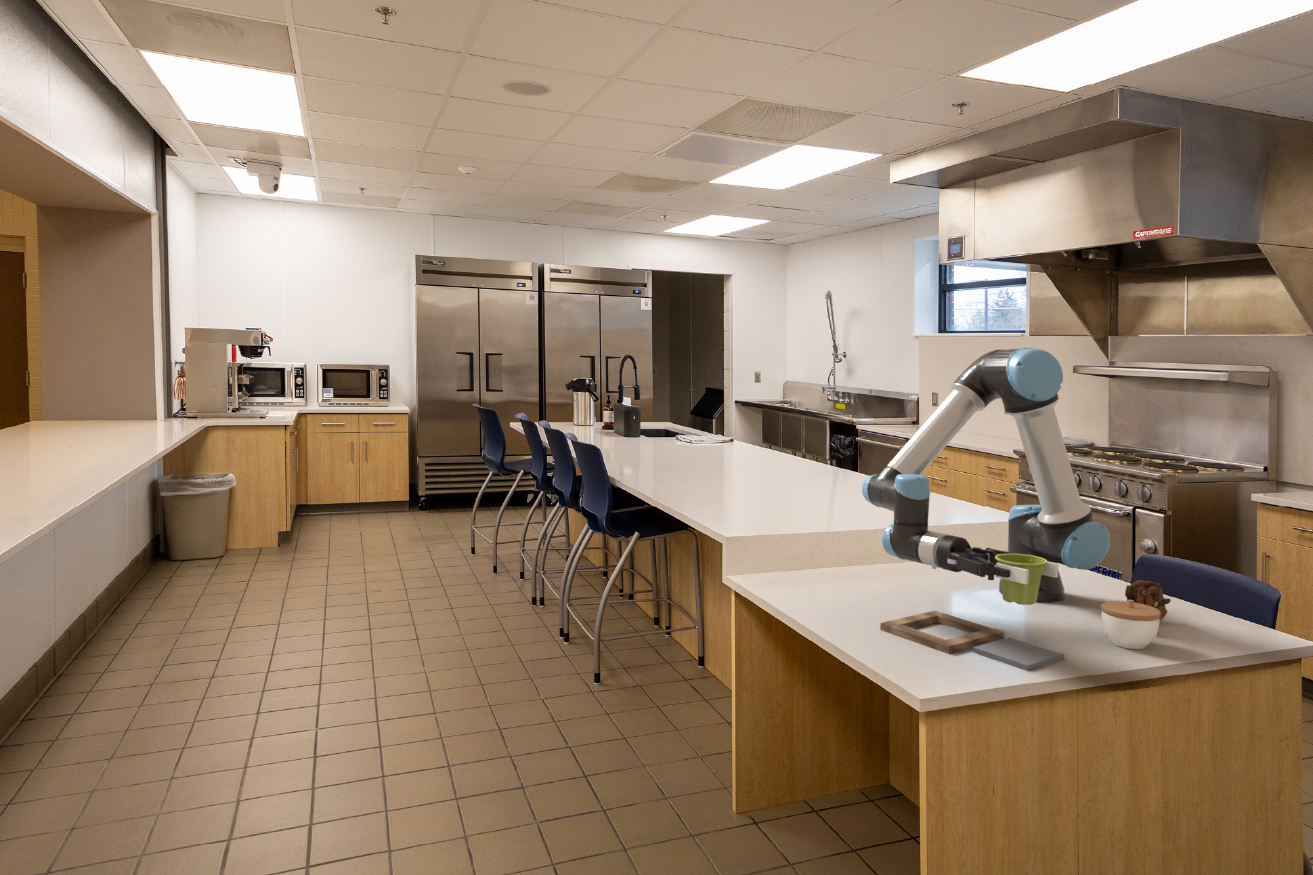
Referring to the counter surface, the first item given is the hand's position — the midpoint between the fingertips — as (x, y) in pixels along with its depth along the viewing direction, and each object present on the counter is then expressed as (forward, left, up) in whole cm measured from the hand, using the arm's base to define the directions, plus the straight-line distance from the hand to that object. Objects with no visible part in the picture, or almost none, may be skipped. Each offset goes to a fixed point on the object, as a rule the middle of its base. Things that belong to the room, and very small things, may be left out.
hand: (1042, 573), depth 158 cm
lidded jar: (-26, +3, -18) cm, 32 cm away
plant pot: (0, -5, -7) cm, 8 cm away
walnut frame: (+2, -22, -18) cm, 28 cm away
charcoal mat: (0, -5, -18) cm, 18 cm away
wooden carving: (-42, -2, -18) cm, 46 cm away
